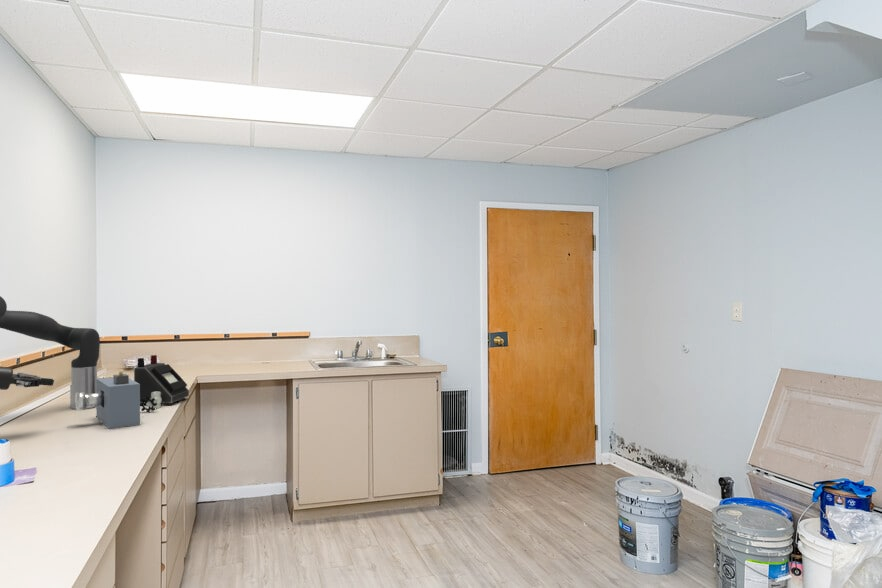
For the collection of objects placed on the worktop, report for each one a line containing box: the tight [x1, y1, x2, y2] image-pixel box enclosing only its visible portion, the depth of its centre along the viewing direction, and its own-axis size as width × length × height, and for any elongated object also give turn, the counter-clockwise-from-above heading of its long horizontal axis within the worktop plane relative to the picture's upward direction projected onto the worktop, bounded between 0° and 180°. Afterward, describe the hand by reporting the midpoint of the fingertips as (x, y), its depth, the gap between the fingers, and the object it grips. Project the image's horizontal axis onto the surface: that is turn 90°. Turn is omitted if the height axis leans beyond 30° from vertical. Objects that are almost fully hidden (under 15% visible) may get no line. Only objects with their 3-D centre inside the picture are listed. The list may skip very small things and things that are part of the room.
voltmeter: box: [133, 354, 190, 406], centre depth 256 cm, size 16×16×20 cm
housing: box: [95, 377, 141, 430], centre depth 220 cm, size 24×10×15 cm, turn 40°
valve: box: [140, 392, 162, 413], centre depth 240 cm, size 7×7×12 cm
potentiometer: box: [113, 369, 130, 385], centre depth 215 cm, size 5×4×5 cm
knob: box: [75, 392, 104, 411], centre depth 214 cm, size 6×9×6 cm
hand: (52, 382), depth 205 cm, fingers closed
